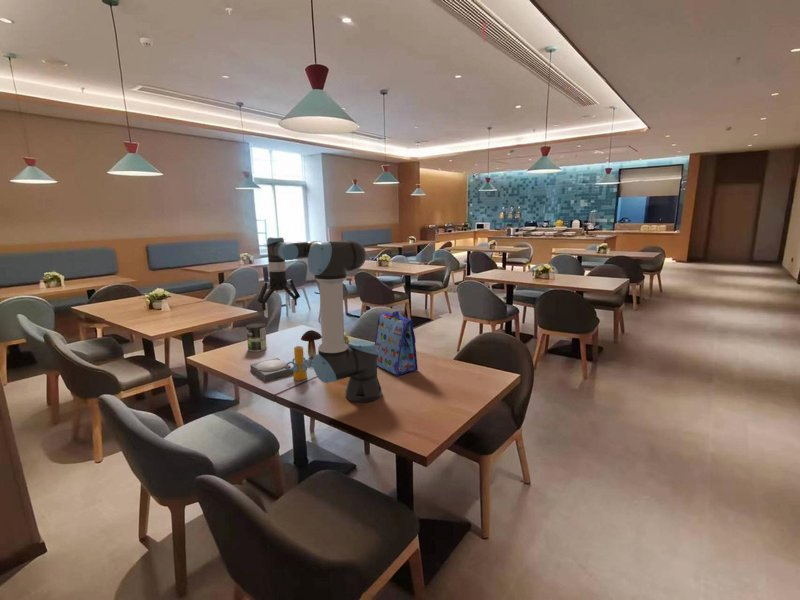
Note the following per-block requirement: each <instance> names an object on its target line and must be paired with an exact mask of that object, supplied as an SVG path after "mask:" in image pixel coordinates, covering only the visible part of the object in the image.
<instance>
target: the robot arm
mask: <svg viewBox="0 0 800 600" xmlns="http://www.w3.org/2000/svg"><path fill="white" fill-rule="evenodd" d="M266 247H267V249H266V250H267V257H268V258H267V261H268V271H269V272H268V273H269V274H268V275H269V276H268V277H269V278H268V279H269V281H267V282H266V281H262V288H261V290H260V292H259V295H258V297H257V300H256V302H257V303H259V304H261V310H262V311H263V313H264V315H263V317H265V318H269V309H268V303H267V302H268V301H269V299H270V298H271V296H272V295H273V293H274V292H275V291H276V292H278V291H284V292H286V293H287V295H289V296H290V297H291V298H290V302H291V303H290V305H291V313H293V314H297V313H296V312H297V311H296V306H297V302H298V301H297V300H298V299H299V298H301V295H300V293H299V291H298V289H297V288H296V286H295V284H294V280H293V279H290V278H289V279H287V271H286V268H287V267H286V261H294V260H298V259H299V260H300V259H307V265H308V270H309V273H311V274H312V275H314V280H316V281H317V282H318V283H319V304H320V305H319V307H320V325H321V326H320V328H321V329H320V331H321V336H322V338H321V344H320V345H319V346H318V348H317V350H318V353H317V354H316V355H315V356H314V357H312V362H313V365H312V367H313V370H314V373H315V375H316V376H317V378H318V379H319V380H320V381H321V383H324V384H330V383H335V382H338V381H339V380H344V379H347V378H348V381H347V385H346V388H345V398H346V399H347V400H349V401H351V402H355V403H369V402H373V401H376V400H378V399H379V398H381V396H382V386H381V384H380V380H379V379H378V366H377V349H376V345H375V342H372V341H368V340H363V339H362V340H361V339H356V340H350V341H349V342H348V344H347V343H346V342H345V327H344V325H345V322H344V321H345V320H344V318H345V317H344V294H343V293H344V289H343V284H344V283H343V282H345V280H346V279H347V272H354V271H357V270H358V269H360V268H361V267H363V266H364V265H365V262H366V260H367V251H366V249H365V247H364V246H363V244H362V243H360V242H358V241H355V240H338V241H336V240H335V241H332V240H331V241H327V240H326V241H321V240H319V241H318V240H313V241H294V242H293V241H292V242H291V241H290V242H285V239H284V237H281V236H279V237H277V236H276V237H275V236H272V237H271V236H270V237H267V239H266ZM287 284H288V285H289V287H290V288H291V290H292V291H291V290H290V289H289V288H288V287H287ZM268 287H269V288H268ZM267 290H268V291H267Z"/></svg>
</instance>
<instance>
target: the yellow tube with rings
mask: <svg viewBox="0 0 800 600" xmlns="http://www.w3.org/2000/svg"><path fill="white" fill-rule="evenodd" d="M293 351H294V352H293V353H294V357H293V358H292V361H289V362H286V363H287V364H286V368H287V369H288V370H293V374H292V375H293V380H295V381H303V380H306V379H307V377H308V376H307V375H308V372H307V371H308V369H310V368H312V367H313V359H306V358H305V357H304V346H302V345H297V346H294V348H293ZM307 362H310V365H309V366H308V364H307ZM290 364H292V365H293V366H292V367H293V368H292V369H289V368H288V365H290Z"/></svg>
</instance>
